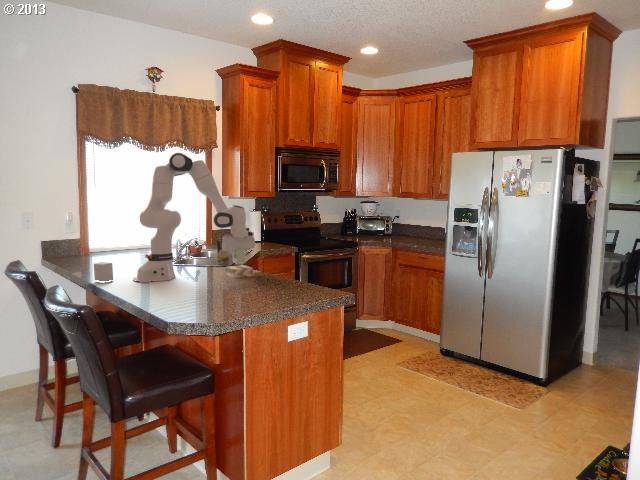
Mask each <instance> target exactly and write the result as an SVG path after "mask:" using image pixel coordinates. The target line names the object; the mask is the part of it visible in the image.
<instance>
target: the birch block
mask: <svg viewBox="0 0 640 480" xmlns="http://www.w3.org/2000/svg"><path fill="white" fill-rule="evenodd" d="M225 275H226V276H228V277H230V278H233V279H234V278H235V279H237V278H245V276H247V277H254V268H253V267H251V266H248V265H245V264H244V265H243V264H241V265H229V266H226V267H225Z"/></svg>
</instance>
